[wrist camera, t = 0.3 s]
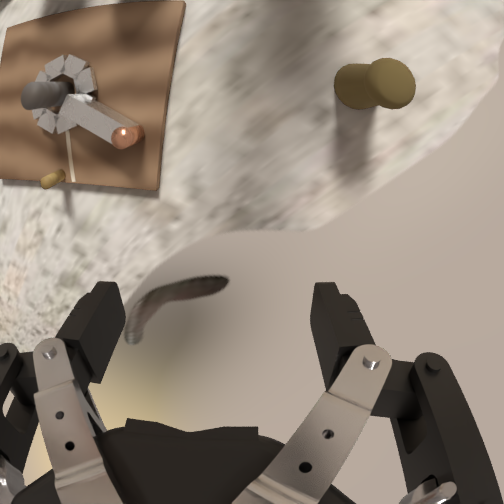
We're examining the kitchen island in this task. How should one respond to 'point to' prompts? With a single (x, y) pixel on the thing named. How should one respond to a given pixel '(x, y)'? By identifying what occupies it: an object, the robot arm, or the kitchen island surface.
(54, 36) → the board
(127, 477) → the robot arm
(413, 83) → the cork
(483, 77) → the kitchen island surface
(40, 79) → the segmented ring with handle
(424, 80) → the kitchen island surface
